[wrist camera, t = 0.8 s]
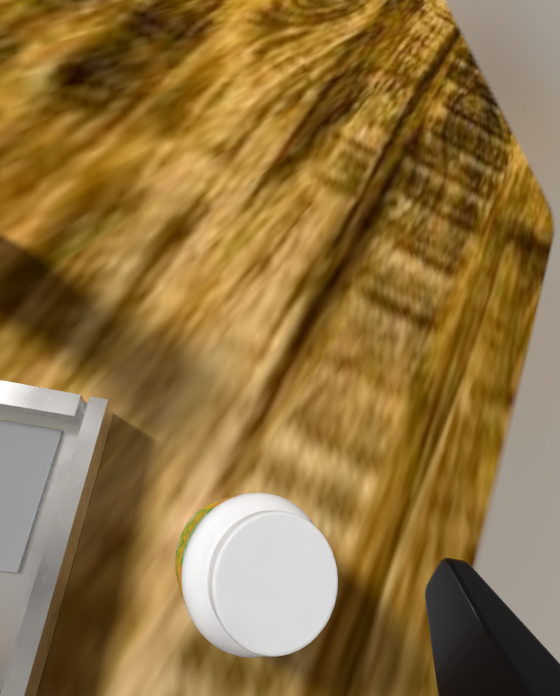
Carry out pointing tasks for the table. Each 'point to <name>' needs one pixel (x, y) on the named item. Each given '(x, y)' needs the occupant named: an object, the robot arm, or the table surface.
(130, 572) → the table surface
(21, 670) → the grey tray
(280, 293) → the table surface
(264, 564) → the supplement bottle
